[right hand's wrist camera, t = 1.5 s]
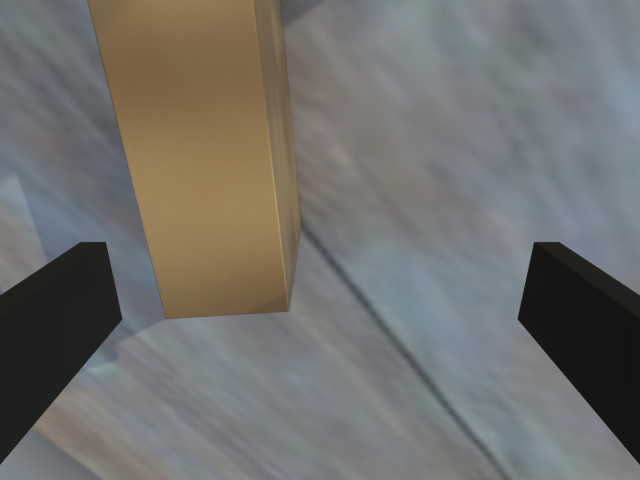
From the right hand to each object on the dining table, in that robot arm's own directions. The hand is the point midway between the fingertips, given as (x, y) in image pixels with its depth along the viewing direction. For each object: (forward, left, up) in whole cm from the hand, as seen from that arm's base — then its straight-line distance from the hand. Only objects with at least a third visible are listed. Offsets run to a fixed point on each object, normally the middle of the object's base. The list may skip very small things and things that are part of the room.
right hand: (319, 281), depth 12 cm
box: (+3, +7, -17) cm, 19 cm away
